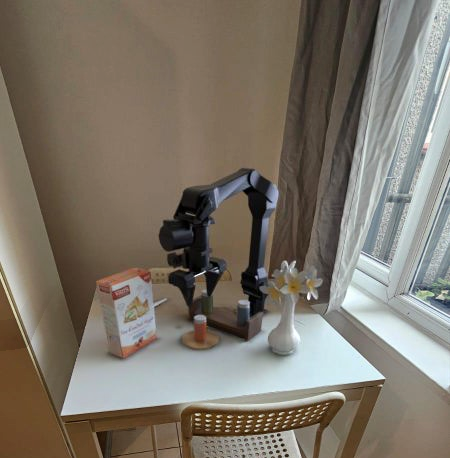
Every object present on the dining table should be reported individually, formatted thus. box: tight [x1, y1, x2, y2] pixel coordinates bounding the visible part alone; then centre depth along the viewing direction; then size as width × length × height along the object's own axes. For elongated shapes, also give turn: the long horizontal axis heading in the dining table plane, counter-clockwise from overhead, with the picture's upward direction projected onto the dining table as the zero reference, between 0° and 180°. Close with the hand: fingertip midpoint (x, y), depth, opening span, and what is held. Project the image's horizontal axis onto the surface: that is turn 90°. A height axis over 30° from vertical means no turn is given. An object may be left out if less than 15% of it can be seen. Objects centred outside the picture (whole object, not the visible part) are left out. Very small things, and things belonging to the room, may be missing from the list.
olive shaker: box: [200, 288, 214, 314], centre depth 109 cm, size 4×4×7 cm
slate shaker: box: [236, 299, 250, 326], centre depth 103 cm, size 4×4×7 cm
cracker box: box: [95, 266, 158, 359], centre depth 92 cm, size 14×6×21 cm, turn 148°
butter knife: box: [153, 298, 168, 308], centre depth 116 cm, size 1×27×3 cm
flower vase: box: [259, 258, 323, 356], centre depth 90 cm, size 13×18×25 cm
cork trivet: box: [181, 330, 219, 351], centre depth 101 cm, size 11×11×1 cm
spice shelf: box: [188, 295, 264, 342], centre depth 108 cm, size 8×23×6 cm, turn 55°
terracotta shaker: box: [193, 315, 208, 342], centre depth 99 cm, size 4×4×7 cm
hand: (199, 301), depth 96 cm, fingers open, 9 cm apart
